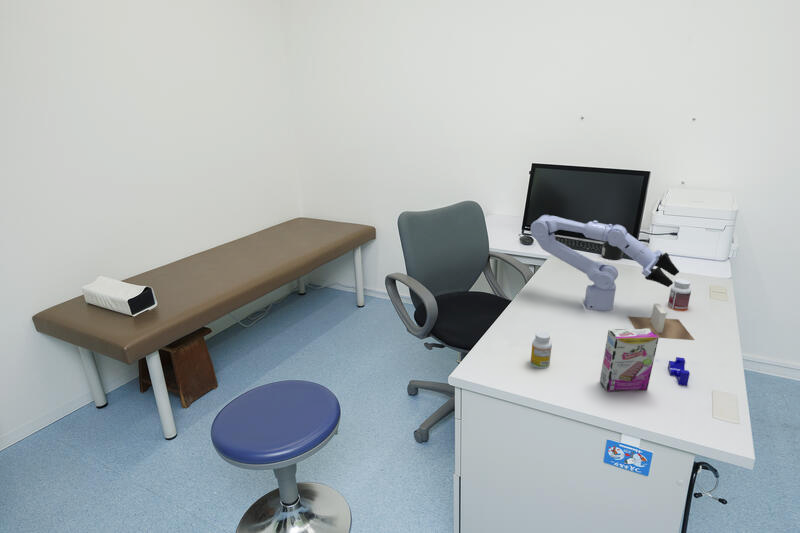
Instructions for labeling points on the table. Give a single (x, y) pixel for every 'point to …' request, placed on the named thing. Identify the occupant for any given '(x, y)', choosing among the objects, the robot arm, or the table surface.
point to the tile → (658, 318)
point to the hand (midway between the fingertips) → (673, 279)
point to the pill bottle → (679, 295)
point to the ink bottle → (611, 251)
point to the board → (670, 330)
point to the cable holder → (679, 370)
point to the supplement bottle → (541, 350)
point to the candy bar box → (628, 359)
